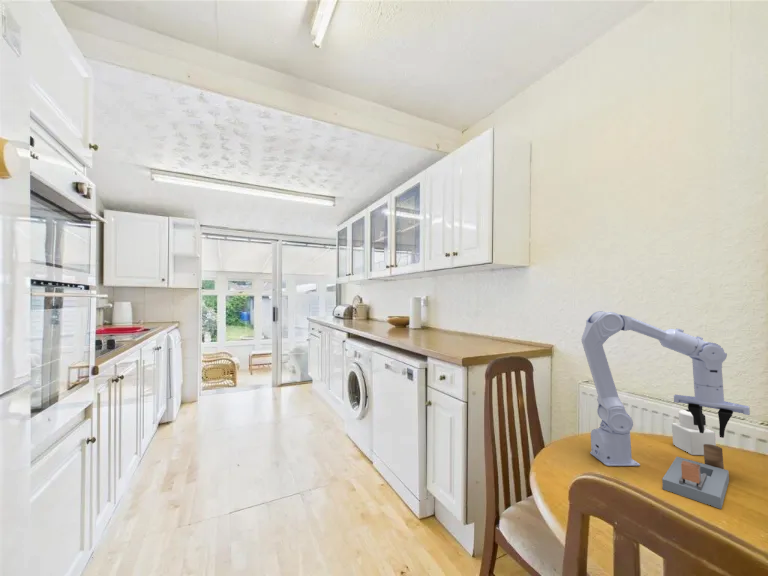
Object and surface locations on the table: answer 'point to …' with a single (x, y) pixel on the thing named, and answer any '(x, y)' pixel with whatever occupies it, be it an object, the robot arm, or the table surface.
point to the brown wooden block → (713, 456)
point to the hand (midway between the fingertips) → (711, 434)
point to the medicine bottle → (691, 434)
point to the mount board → (708, 488)
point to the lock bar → (691, 473)
